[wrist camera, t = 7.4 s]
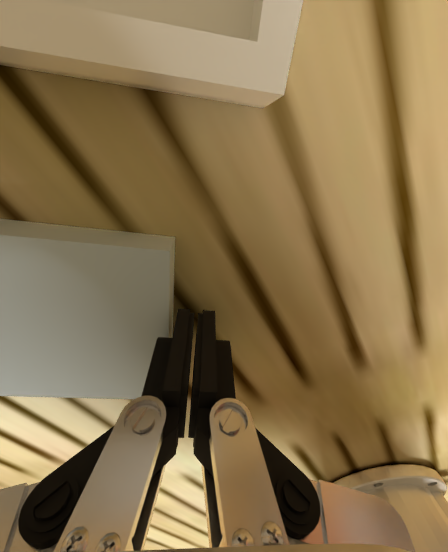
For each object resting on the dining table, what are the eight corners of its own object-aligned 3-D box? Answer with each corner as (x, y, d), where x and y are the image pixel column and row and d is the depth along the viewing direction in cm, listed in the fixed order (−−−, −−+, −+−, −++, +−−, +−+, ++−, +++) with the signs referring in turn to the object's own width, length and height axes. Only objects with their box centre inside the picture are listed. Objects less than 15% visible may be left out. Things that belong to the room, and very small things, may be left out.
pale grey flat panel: (177, 232, 10) (170, 251, 8) (172, 369, 15) (167, 400, 13) (-145, 198, 9) (-231, 212, 7) (-42, 360, 13) (-80, 393, 11)
